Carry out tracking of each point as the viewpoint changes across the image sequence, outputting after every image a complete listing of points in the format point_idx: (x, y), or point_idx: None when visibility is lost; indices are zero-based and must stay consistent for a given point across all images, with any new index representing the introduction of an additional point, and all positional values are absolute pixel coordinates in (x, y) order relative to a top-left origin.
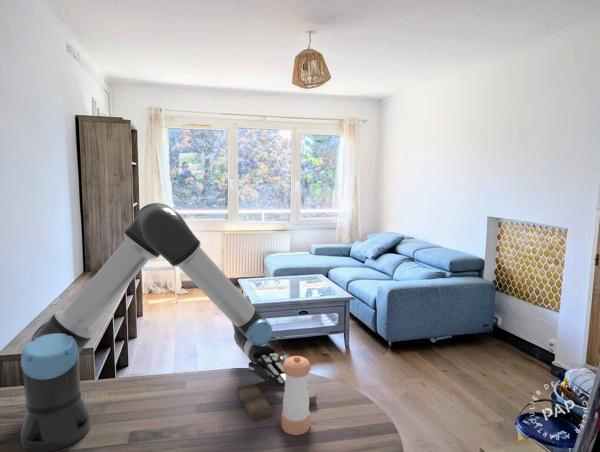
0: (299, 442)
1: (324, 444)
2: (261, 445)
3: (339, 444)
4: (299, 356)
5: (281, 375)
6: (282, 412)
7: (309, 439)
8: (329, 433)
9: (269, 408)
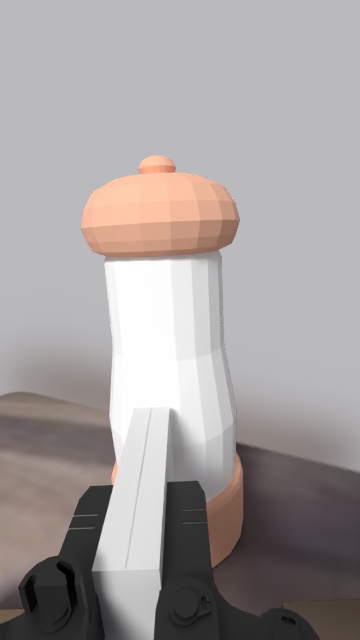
0: None
1: None
2: (336, 469)
3: None
4: (120, 178)
5: (154, 537)
6: (234, 483)
7: None
8: (99, 449)
9: (298, 602)
